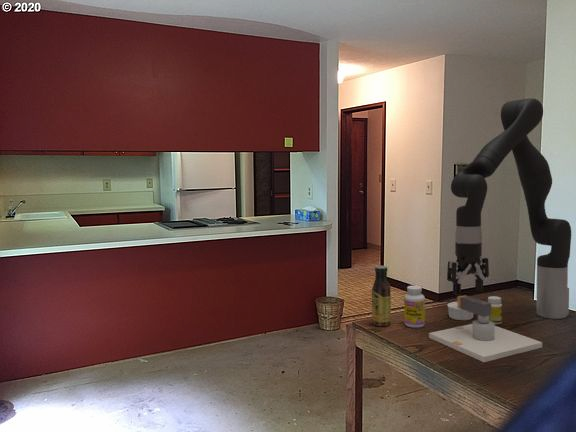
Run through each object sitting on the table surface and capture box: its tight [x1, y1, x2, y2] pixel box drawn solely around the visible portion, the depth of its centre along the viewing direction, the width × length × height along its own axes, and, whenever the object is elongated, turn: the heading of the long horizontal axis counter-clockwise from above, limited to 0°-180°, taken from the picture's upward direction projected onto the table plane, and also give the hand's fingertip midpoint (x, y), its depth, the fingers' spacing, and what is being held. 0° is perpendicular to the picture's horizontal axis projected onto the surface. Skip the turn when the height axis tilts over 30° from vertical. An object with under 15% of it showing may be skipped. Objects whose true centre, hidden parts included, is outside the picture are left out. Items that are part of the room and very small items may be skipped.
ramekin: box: [447, 301, 474, 321], centre depth 171 cm, size 9×9×4 cm
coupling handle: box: [456, 294, 491, 323], centre depth 148 cm, size 10×3×6 cm, turn 24°
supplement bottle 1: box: [403, 285, 426, 329], centre depth 164 cm, size 7×7×13 cm
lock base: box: [428, 319, 543, 363], centre depth 146 cm, size 22×22×6 cm
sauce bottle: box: [371, 265, 392, 327], centre depth 165 cm, size 7×6×20 cm
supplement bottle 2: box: [487, 295, 503, 325], centre depth 163 cm, size 5×5×8 cm
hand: (468, 293), depth 150 cm, fingers open, 8 cm apart
